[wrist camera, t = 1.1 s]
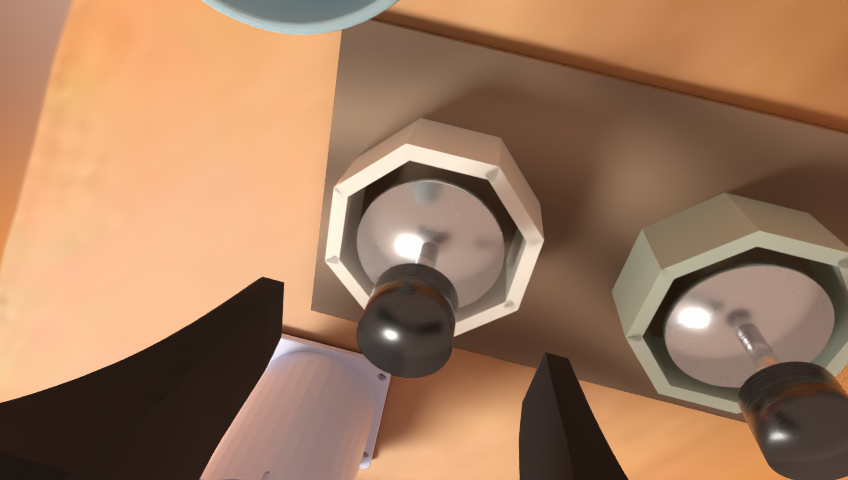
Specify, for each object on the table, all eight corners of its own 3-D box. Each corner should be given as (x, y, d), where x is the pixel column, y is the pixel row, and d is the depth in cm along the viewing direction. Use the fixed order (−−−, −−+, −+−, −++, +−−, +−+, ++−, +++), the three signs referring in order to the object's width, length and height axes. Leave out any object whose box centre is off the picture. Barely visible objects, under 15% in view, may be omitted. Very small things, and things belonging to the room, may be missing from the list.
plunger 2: (776, 395, 22) (857, 530, 17) (639, 360, 22) (678, 483, 17) (863, 284, 19) (995, 407, 14) (704, 244, 19) (776, 351, 14)
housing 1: (502, 307, 26) (502, 353, 23) (340, 266, 26) (319, 306, 23) (558, 151, 21) (565, 182, 18) (364, 103, 22) (340, 127, 19)
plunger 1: (482, 320, 22) (474, 429, 17) (351, 286, 23) (303, 384, 17) (523, 199, 19) (527, 288, 14) (370, 161, 20) (319, 235, 14)
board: (746, 415, 27) (750, 424, 27) (314, 303, 28) (311, 310, 27) (945, 155, 20) (957, 161, 19) (347, 12, 20) (343, 13, 20)
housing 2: (759, 373, 25) (792, 428, 22) (592, 330, 25) (603, 379, 22) (868, 227, 21) (926, 271, 18) (666, 177, 21) (691, 213, 18)
